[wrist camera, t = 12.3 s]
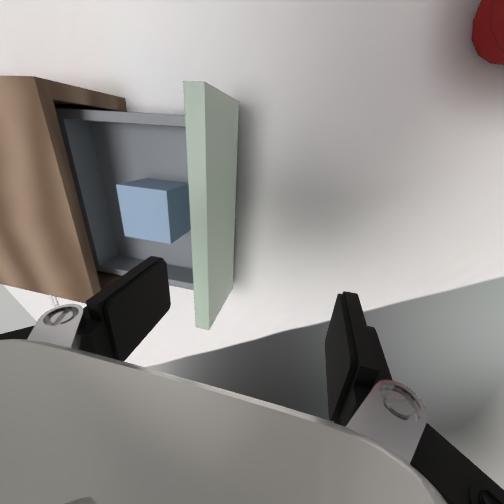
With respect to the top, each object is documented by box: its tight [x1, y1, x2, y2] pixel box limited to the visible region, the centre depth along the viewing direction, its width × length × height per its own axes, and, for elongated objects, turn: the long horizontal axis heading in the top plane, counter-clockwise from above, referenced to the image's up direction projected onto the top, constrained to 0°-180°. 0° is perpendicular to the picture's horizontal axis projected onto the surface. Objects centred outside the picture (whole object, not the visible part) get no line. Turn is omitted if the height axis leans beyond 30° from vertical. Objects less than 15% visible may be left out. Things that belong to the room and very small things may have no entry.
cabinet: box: [0, 76, 126, 303], centre depth 26 cm, size 16×20×9 cm
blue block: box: [116, 178, 191, 244], centre depth 24 cm, size 5×5×4 cm
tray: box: [55, 81, 239, 330], centre depth 24 cm, size 16×20×8 cm
